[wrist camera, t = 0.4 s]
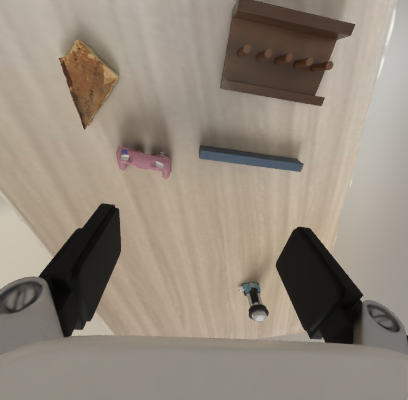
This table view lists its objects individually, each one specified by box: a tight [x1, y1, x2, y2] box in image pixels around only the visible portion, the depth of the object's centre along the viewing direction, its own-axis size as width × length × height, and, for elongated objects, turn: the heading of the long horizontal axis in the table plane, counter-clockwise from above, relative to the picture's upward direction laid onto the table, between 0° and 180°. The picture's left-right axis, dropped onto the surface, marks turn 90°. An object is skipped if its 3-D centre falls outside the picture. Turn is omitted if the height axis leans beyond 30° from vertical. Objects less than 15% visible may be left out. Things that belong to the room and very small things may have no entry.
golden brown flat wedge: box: [59, 40, 119, 129], centre depth 31 cm, size 11×8×2 cm
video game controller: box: [117, 146, 171, 179], centre depth 36 cm, size 10×5×7 cm, turn 76°
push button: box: [238, 283, 269, 322], centre depth 56 cm, size 7×5×10 cm
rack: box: [221, 0, 355, 106], centre depth 29 cm, size 10×16×6 cm, turn 81°
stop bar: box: [199, 146, 304, 172], centre depth 38 cm, size 2×20×3 cm, turn 81°
